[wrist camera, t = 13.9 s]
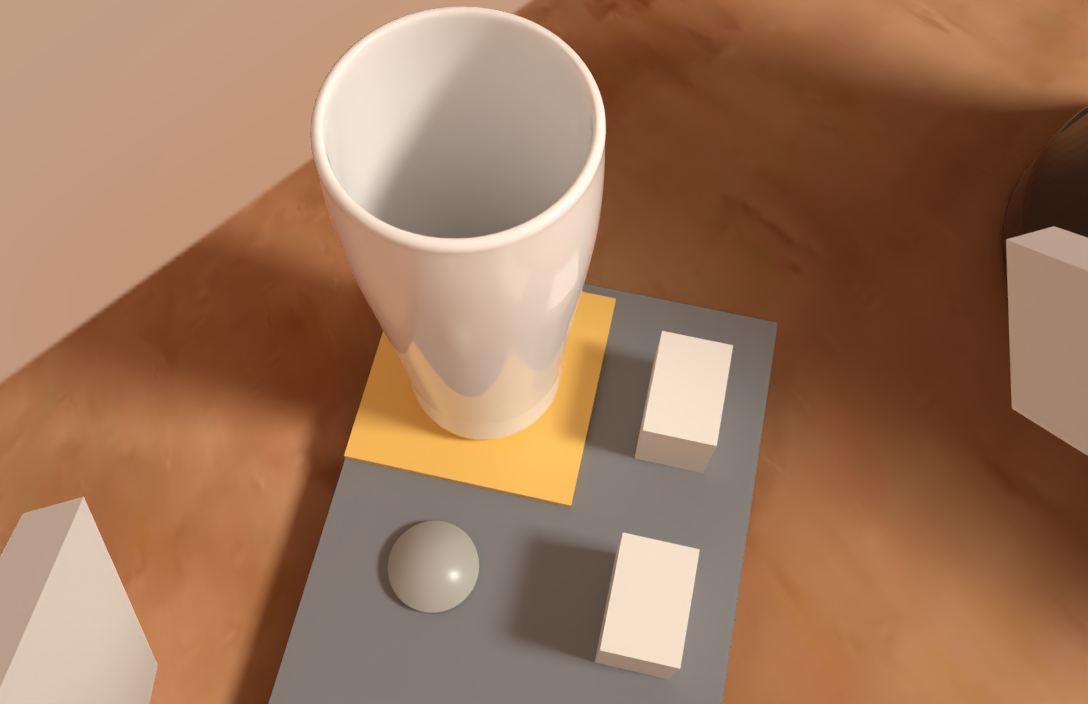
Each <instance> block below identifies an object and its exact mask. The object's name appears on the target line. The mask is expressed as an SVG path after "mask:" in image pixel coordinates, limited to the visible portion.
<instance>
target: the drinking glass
mask: <svg viewBox="0 0 1088 704" xmlns="http://www.w3.org/2000/svg"><path fill="white" fill-rule="evenodd" d="M605 138H606V118H605V110H604V105H603V101H602V97H601V94H600V91H599V89H598V86H597V84H596V82H595V80H594V78H593V76H592V74H591V72H590V71H589V69H588V68H587V66H586V64H585V63H584V62H583V61H582V59H581V58H580V57H579V56H578V54H577V53H576V52H575V51H574V50H573V49H572V48H571V47H570V46H569V45H568V44H566V43H565V42H564V41H563V40H562V39H560V38H559V37H558V36H556V35H555V34H553V33H552V32H551V31H549V30H547V29H546V28H544V27H542V26H540V25H539V24H537V23H535V22H532V21H530V20H528V19H526V18H523V17H520V16H518V15H515V14H512V13H508V12H504V11H500V10H495V9H490V8H481V7H469V6H455V7H442V8H433V9H429V10H423V11H419V12H416V13H412V14H409V15H406V16H403V17H400V18H397V19H395V20H393V21H391V22H388V23H386V24H384V25H382V26H380V27H378V28H377V29H375V30H373V31H371V32H370V33H369V34H367V35H366V36H364V37H363V38H361V39H360V40H359V41H358V42H356V43H355V44H354V45H353V46H352V47H351V48H349V49H348V50H347V51H346V52H345V53H344V54H343V55H342V56H341V58H340V59H339V60H338V61H337V62H336V64H335V65H334V66H333V68H332V69H331V71H330V72H329V74H328V75H327V77H326V78H325V80H324V82H323V84H322V86H321V88H320V90H319V93H318V96H317V98H316V101H315V105H314V109H313V113H312V120H311V147H312V153H313V158H314V162H315V165H316V168H317V172H318V176H319V181H320V185H321V189H322V193H323V196H324V200H325V204H326V207H327V210H328V213H329V216H330V219H331V222H332V225H333V228H334V231H335V234H336V237H337V240H338V242H339V245H340V248H341V250H342V252H343V255H344V257H345V259H346V261H347V264H348V266H349V268H350V270H351V272H352V274H353V276H354V278H355V280H356V282H357V284H358V286H359V288H360V290H361V292H362V294H363V295H364V297H365V299H366V301H367V303H368V304H369V306H370V308H371V310H372V312H373V313H374V315H375V317H376V319H377V320H378V322H379V324H380V326H381V328H382V329H383V331H384V333H385V335H386V337H387V338H388V340H389V342H390V344H391V346H392V348H393V349H394V351H395V353H396V355H397V357H398V359H399V361H400V362H401V364H402V366H403V368H404V370H405V372H406V374H407V376H408V378H409V381H410V385H411V388H412V390H413V393H414V396H415V398H416V400H417V402H418V403H419V405H420V407H421V408H422V409H423V411H424V412H425V413H426V414H427V415H428V416H429V418H430V419H431V420H433V421H434V422H435V423H436V424H437V425H439V426H440V427H442V428H443V429H445V430H447V431H449V432H451V433H453V434H455V435H458V436H461V437H464V438H469V439H475V440H494V439H500V438H504V437H508V436H511V435H514V434H516V433H518V432H521V431H522V430H524V429H526V428H528V427H529V426H530V425H532V424H533V423H535V422H536V421H537V420H538V419H539V418H540V417H541V416H542V415H543V414H544V413H545V412H546V410H547V409H548V408H549V406H550V405H551V403H552V401H553V400H554V398H555V395H556V393H557V391H558V388H559V384H560V380H561V374H562V364H563V357H564V353H565V350H566V346H567V342H568V339H569V335H570V331H571V328H572V324H573V321H574V317H575V314H576V310H577V307H578V304H579V300H580V297H581V293H582V290H583V287H584V283H585V280H586V276H587V273H588V269H589V266H590V262H591V258H592V254H593V250H594V246H595V242H596V237H597V233H598V227H599V221H600V214H601V206H602V198H603V188H604V174H605Z"/></svg>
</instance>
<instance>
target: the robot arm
mask: <svg viewBox="0 0 1088 704" xmlns="http://www.w3.org/2000/svg"><path fill="white" fill-rule="evenodd" d="M1003 253H1004V262H1005V268H1006V274H1007V281H1008V311H1009V340H1010V370H1011V400H1012V409H1013V410H1015V411H1016V412H1018V413H1020V414H1021V415H1023V416H1024V417H1026V418H1028V419H1029V420H1031V421H1032V422H1034V423H1036V424H1037V425H1039V426H1041V427H1042V428H1044V429H1045V430H1047V431H1049V432H1050V433H1052V434H1053V435H1055V436H1057V437H1058V438H1060V439H1061V440H1063V441H1065V442H1066V443H1068V444H1069V445H1071V446H1073V447H1074V448H1076V449H1077V450H1079V451H1081V452H1082V453H1084V454H1086V455H1087V456H1088V106H1087V107H1085V108H1083V109H1082V110H1081V111H1079V112H1078V113H1076V114H1075V115H1074V116H1073V117H1072V118H1070V119H1069V120H1068V121H1067V122H1066V123H1065V124H1063V125H1062V126H1061V127H1060V128H1059V129H1058V130H1057V131H1056V132H1055V133H1054V134H1053V135H1052V136H1051V138H1050V139H1049V140H1048V142H1047V143H1046V144H1045V145H1044V147H1043V148H1042V149H1041V150H1040V152H1039V153H1038V154H1037V156H1036V157H1035V158H1034V159H1033V161H1032V162H1031V163H1030V164H1029V166H1028V167H1027V168H1026V170H1025V171H1024V173H1023V174H1022V176H1021V177H1020V179H1019V180H1018V182H1017V184H1016V186H1015V188H1014V190H1013V193H1012V195H1011V198H1010V201H1009V204H1008V207H1007V211H1006V216H1005V221H1004V230H1003ZM157 667H158V665H157V662H156V660H155V658H154V656H153V653H152V651H151V649H150V646H149V644H148V642H147V640H146V637H145V635H144V633H143V630H142V628H141V626H140V624H139V621H138V619H137V617H136V615H135V612H134V610H133V608H132V605H131V603H130V601H129V599H128V596H127V594H126V592H125V590H124V587H123V585H122V583H121V580H120V578H119V576H118V574H117V571H116V569H115V567H114V564H113V562H112V560H111V558H110V555H109V553H108V551H107V549H106V546H105V544H104V542H103V539H102V537H101V535H100V533H99V530H98V528H97V526H96V523H95V521H94V519H93V517H92V514H91V512H90V510H89V508H88V505H87V503H86V501H85V498H84V497H80V498H77V499H73V500H70V501H66V502H62V503H59V504H55V505H52V506H48V507H44V508H41V509H37V510H34V511H30V512H27V513H23V515H22V516H21V518H20V520H19V522H18V524H17V526H16V528H15V529H14V531H13V533H12V535H11V537H10V539H9V541H8V543H7V544H6V546H5V548H4V550H3V552H2V554H1V556H0V704H149V703H150V698H151V694H152V689H153V685H154V680H155V676H156V671H157Z"/></svg>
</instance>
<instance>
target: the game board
mask: <svg viewBox="0 0 1088 704" xmlns="http://www.w3.org/2000/svg"><path fill="white" fill-rule="evenodd" d="M777 326H778V323H777V322H773V321H768V320H763V319H758V318H753V317H748V316H743V315H738V314H733V313H728V312H723V311H718V310H713V309H708V308H703V307H698V306H693V305H688V304H683V303H678V302H673V301H668V300H663V299H658V298H653V297H648V296H643V295H638V294H633V293H628V292H624V291H619V290H614V289H609V288H604V287H599V286H594V285H589V284H584V287H583V290H582V293H581V297H580V300H579V304H578V307H577V310H576V314H575V317H574V321H573V324H572V328H571V331H570V335H569V339H568V342H567V346H566V350H565V353H564V357H563V364H562V374H561V380H560V384H559V388H558V391H557V393H556V395H555V398H554V400H553V401H552V403H551V405H550V406H549V408H548V409H547V410H546V412H545V413H544V414H543V415H542V416H541V417H540V418H539V419H538V420H537V421H536V422H535V423H533V424H532V425H530V426H529V427H528V428H526V429H524V430H522V431H521V432H518V433H516V434H514V435H511V436H508V437H504V438H500V439H494V440H475V439H469V438H464V437H461V436H458V435H455V434H453V433H451V432H449V431H447V430H445V429H443V428H442V427H440V426H439V425H437V424H436V423H435V422H434V421H433V420H431V419H430V418H429V416H428V415H427V414H426V413H425V412H424V411H423V409H422V408H421V407H420V405H419V403H418V402H417V400H416V398H415V396H414V393H413V390H412V388H411V385H410V381H409V378H408V376H407V374H406V372H405V370H404V368H403V366H402V364H401V362H400V361H399V359H398V357H397V355H396V353H395V351H394V349H393V348H392V346H391V344H390V342H389V340H388V338H387V337H386V335H385V333H384V331H383V333H382V336H381V339H380V342H379V346H378V349H377V352H376V355H375V358H374V362H373V365H372V368H371V371H370V374H369V377H368V381H367V384H366V387H365V390H364V393H363V396H362V400H361V403H360V406H359V409H358V412H357V416H356V419H355V422H354V425H353V428H352V431H351V435H350V438H349V441H348V444H347V447H346V451H345V454H344V457H345V461H344V464H343V467H342V471H341V474H340V477H339V480H338V483H337V487H336V490H335V493H334V496H333V499H332V503H331V506H330V509H329V512H328V515H327V519H326V522H325V525H324V528H323V531H322V534H321V538H320V541H319V544H318V547H317V550H316V554H315V557H314V560H313V563H312V566H311V570H310V573H309V576H308V579H307V582H306V586H305V589H304V592H303V595H302V598H301V601H300V605H299V608H298V611H297V614H296V617H295V621H294V624H293V627H292V630H291V633H290V637H289V640H288V643H287V646H286V649H285V653H284V656H283V659H282V662H281V665H280V668H279V672H278V675H277V678H276V681H275V684H274V688H273V691H272V694H271V697H270V700H269V704H722V703H723V696H724V689H725V682H726V675H727V669H728V662H729V655H730V648H731V641H732V634H733V627H734V621H735V614H736V607H737V600H738V593H739V586H740V579H741V573H742V566H743V559H744V552H745V545H746V538H747V532H748V525H749V518H750V511H751V504H752V497H753V490H754V484H755V477H756V470H757V463H758V456H759V449H760V442H761V436H762V429H763V422H764V415H765V408H766V401H767V395H768V388H769V381H770V374H771V367H772V360H773V353H774V347H775V340H776V333H777Z"/></svg>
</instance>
